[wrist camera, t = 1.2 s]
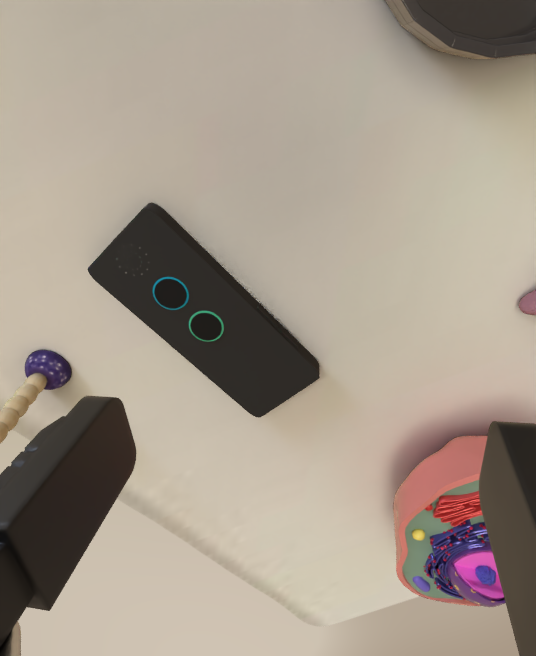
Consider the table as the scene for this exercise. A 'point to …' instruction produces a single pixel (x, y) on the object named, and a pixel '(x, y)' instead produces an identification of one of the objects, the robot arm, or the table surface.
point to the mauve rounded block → (528, 303)
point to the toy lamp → (34, 386)
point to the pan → (471, 26)
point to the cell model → (446, 528)
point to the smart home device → (203, 312)
